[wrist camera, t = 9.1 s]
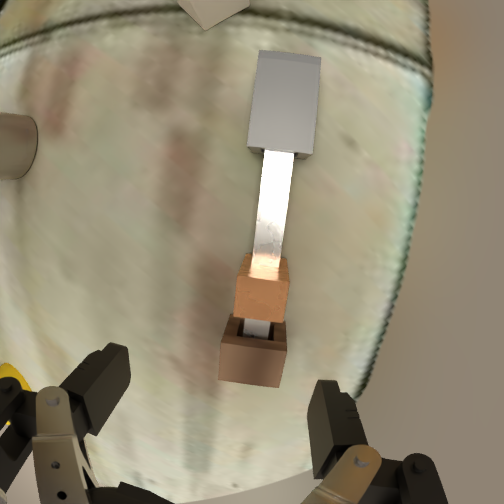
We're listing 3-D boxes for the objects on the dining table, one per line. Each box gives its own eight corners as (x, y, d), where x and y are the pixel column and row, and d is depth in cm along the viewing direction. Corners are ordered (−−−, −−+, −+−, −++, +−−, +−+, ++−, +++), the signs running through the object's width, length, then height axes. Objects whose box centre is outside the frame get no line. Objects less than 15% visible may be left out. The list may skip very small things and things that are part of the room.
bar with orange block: (236, 339, 31) (227, 377, 24) (258, 146, 26) (253, 134, 19) (272, 344, 31) (270, 383, 24) (300, 152, 26) (309, 142, 19)
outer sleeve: (252, 152, 27) (246, 145, 22) (262, 71, 25) (259, 49, 20) (305, 159, 26) (312, 154, 21) (313, 77, 24) (321, 57, 19)
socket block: (227, 348, 32) (218, 379, 26) (230, 314, 31) (220, 342, 25) (278, 355, 32) (278, 387, 26) (285, 321, 31) (286, 351, 25)
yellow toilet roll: (39, 398, 40) (15, 424, 31) (23, 402, 42) (2, 425, 33) (11, 358, 38) (-17, 381, 29) (-2, 367, 40) (-26, 387, 31)
